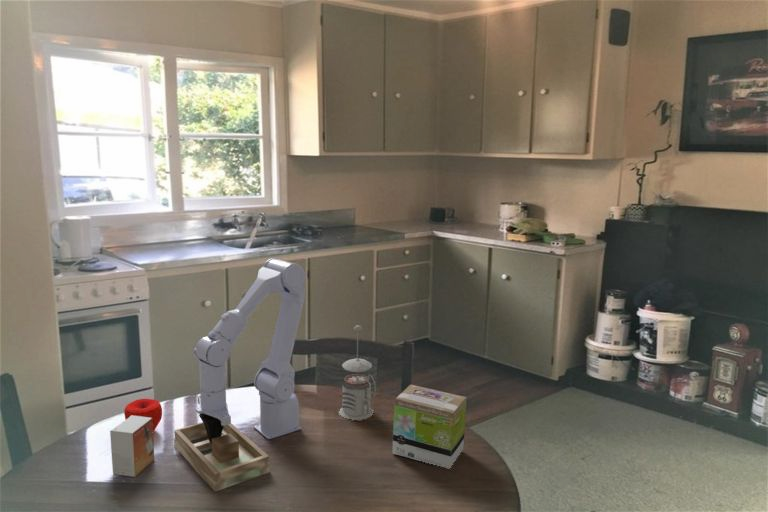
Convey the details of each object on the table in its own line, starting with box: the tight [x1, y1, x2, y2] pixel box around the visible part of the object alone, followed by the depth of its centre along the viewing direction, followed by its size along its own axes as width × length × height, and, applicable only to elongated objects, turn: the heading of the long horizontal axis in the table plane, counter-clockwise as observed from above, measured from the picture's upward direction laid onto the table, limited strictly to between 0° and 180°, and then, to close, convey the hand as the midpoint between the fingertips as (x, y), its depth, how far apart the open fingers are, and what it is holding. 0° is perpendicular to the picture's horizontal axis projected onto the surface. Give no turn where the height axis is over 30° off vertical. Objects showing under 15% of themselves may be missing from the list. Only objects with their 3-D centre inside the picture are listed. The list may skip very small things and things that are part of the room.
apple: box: [123, 398, 163, 432], centre depth 152 cm, size 9×9×8 cm
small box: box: [109, 415, 155, 478], centre depth 136 cm, size 8×6×10 cm
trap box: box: [173, 421, 271, 493], centre depth 141 cm, size 13×24×4 cm, turn 39°
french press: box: [338, 324, 377, 421], centre depth 164 cm, size 10×12×25 cm
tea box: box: [392, 384, 468, 469], centre depth 145 cm, size 15×10×15 cm, turn 65°
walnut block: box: [212, 433, 239, 463], centre depth 139 cm, size 4×4×4 cm
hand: (214, 441), depth 143 cm, fingers closed
